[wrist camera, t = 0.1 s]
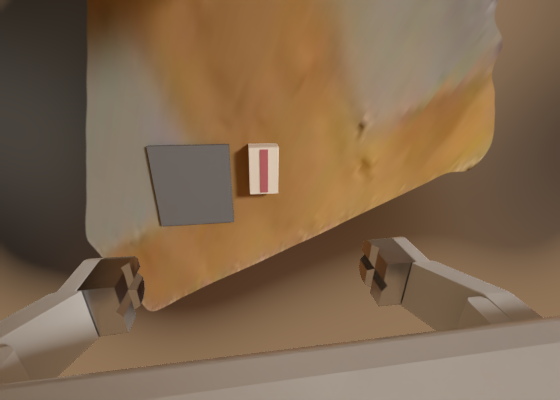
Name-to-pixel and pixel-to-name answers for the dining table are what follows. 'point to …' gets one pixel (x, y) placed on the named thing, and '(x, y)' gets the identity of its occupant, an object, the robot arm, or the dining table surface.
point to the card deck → (263, 168)
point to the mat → (192, 183)
